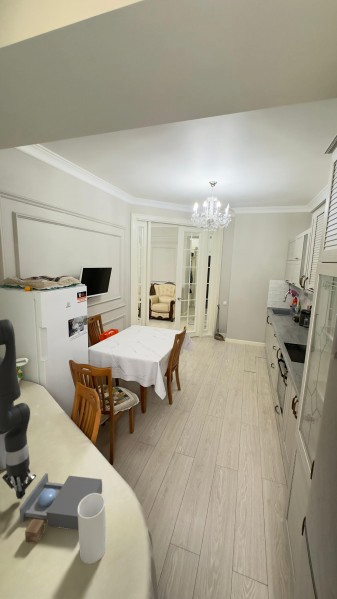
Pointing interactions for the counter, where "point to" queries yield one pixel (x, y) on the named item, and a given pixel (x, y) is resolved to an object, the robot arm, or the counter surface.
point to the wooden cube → (34, 531)
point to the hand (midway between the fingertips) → (21, 496)
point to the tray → (31, 503)
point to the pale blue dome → (46, 498)
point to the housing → (71, 501)
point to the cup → (92, 527)
